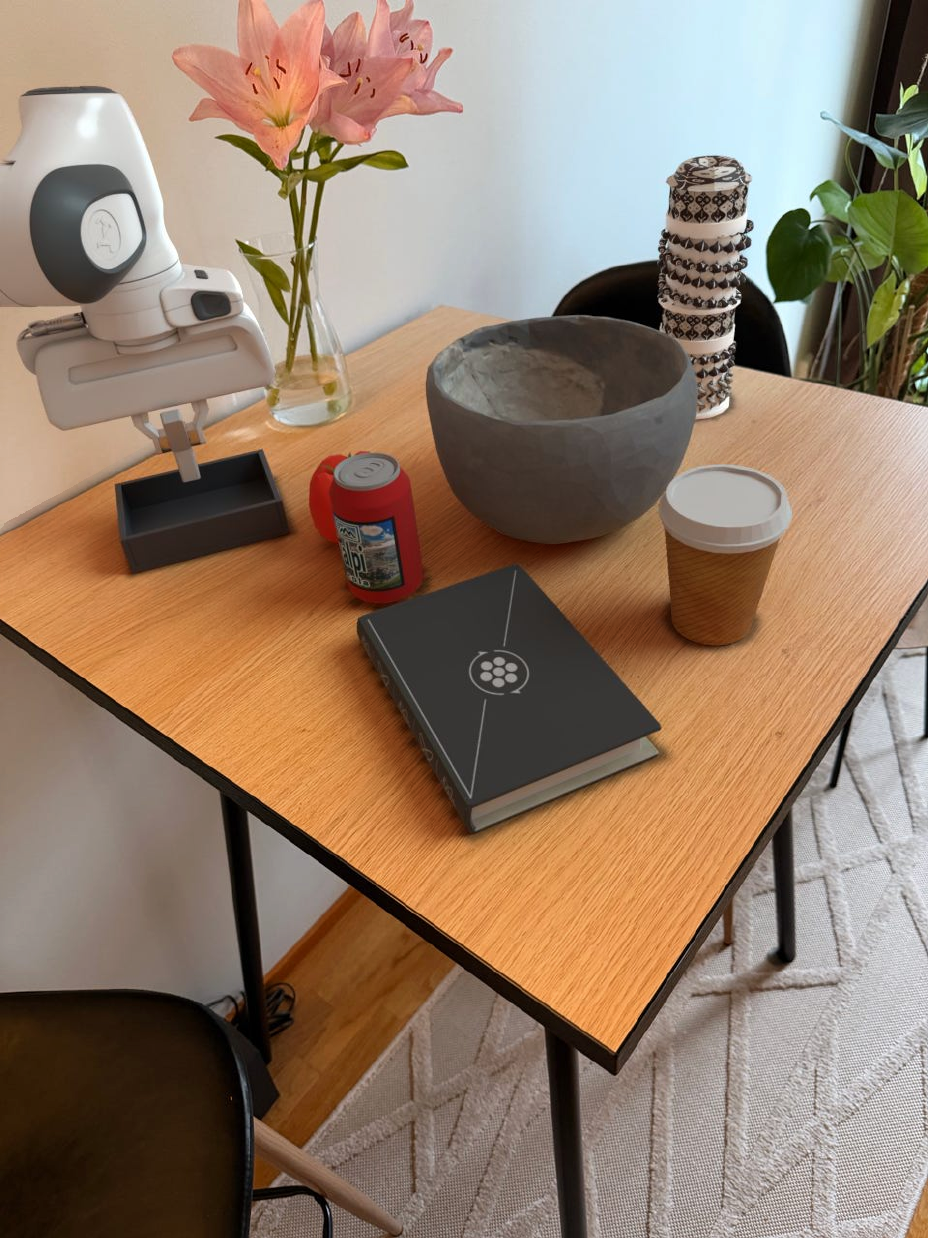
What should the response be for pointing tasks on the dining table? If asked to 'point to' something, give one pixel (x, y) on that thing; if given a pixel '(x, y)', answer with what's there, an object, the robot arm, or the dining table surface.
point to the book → (504, 695)
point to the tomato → (325, 496)
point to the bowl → (561, 423)
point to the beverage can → (376, 527)
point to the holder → (199, 511)
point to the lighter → (180, 445)
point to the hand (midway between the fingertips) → (181, 446)
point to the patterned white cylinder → (705, 269)
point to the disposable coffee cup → (720, 547)
